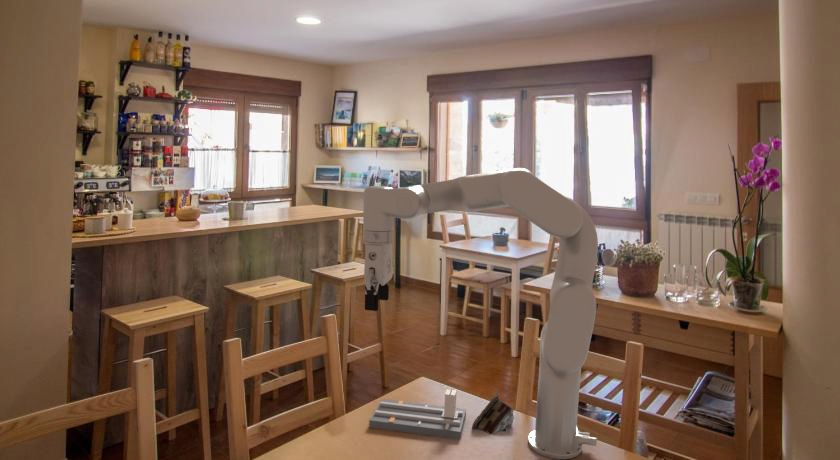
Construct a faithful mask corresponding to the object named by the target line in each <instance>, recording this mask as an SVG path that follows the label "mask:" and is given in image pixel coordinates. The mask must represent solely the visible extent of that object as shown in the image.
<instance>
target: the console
mask: <svg viewBox="0 0 840 460" xmlns="http://www.w3.org/2000/svg"><path fill="white" fill-rule="evenodd" d="M444 407H445V406H443V405H434V404H433V405H432V404H425V403H417V402H416V403H415V402H410V401H409V402H408V401H403V400H391V399H384V398H382V399H381V400H380V402H379V403H378V405H377V407H376V408H375V410H374V412H373V413H372V415H371V416H370V418H369V422H368V423H369V427H368V428H370V429H376V430H377V429H379V430H385V431H391V432H400V433H406V434H415V435H423V436H428V437H429V436H430V437H431V436H432V437H439V438H443V439H444V438H445V439H446V438H447V439H454V440H458V441H459V440H461V439H462V438H461V437H462V434H463V429H464V424H465V422H466V417H467V409H465V408H460V407H459V408H457V407H456V413H458V418H457V420H451V419H443V418H441V415H442V413H443V411H444Z"/></svg>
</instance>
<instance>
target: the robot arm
mask: <svg viewBox="0 0 840 460" xmlns="http://www.w3.org/2000/svg"><path fill="white" fill-rule="evenodd" d="M499 208H500V209H503V208H511V210H513V211H514V212H516V213H517V214H519V215H520V216H522V217H523V218H525V219H526V220H527V221H528V222H531V223H532V224H533V225H535V226H537V227H538V228H539V229H540V230H542V231H544V232H545V233H546V234H548V235H550V236H551V237H554V238H556V239H558V252H557V260H556V266H555V269H554V270H555V271H554V276H553V280H552V284H551V288H550V292H549V301H550V304H549V305H550V307H549V312H548V318H547V321H546V322H545V324H544V325H543V326H542V329H541V331H540V338H539V339H540V340H539V366H538V367H539V368H538V382H537V383H538V384H537V395H536V397H537V398H536V409H535V410H536V412H535V413H536V414H535V428H534V430H532V431H530V433H529V434H528V437H527V443H528V445H529V447H530V448H531V449H532V450H533V451H535V453H538V455H541V456H544V457H546V458H551V459H555V460H569V459H573V458H575V457H576V458H577V457H578V456H579V455H580V454H581V453H582V449H583V445H587V446H591V447H596V446H597V443H598V442H597V437H594V436H591V432H587V431H586V432H585V431H584V432H583V431H580V430H579V429H578V425H577V424H578V413H579V397H580V387H581V373H582V367H583V365H584V364H585V363H586V360H587V357H588V356H589V355H588V354H589V350H590V346H591V341H592V340H591V339H592V335H593V332H594V326H595V320H596V314H597V299H596V296H595V293H594V291H593V282H594V277H595V271H596V265H597V264H596V263H597V259H598V257H597V256H598V250H599V249H598V248H599V241H598V234H597V233H598V232H597V228H596V226H595V223H594V221H593V219H592V218H591V216H590V214H589V212H587V210H585V209H584V207H582V206H581V205H580V204H579V203H578V202H577V201H575V200H574V199H572V198H571V197H569V196H565V195H563V194H562V193H561V192H558V191H557V190H556V189H554V188H552V187H551V186H549V185H548V184H546V183H545V182H544V181H543V180H541V179H540V178H538V177H537V176H536V175H535V174H534V173H533V172H532V171H531V170H529V169H527V168H523V167H516V168H509V169H502V170H498V171H497V170H496V171H490V172H489V171H488V172H482V173H475V174H469V175H468V174H467V175H464V176H460V177H456V178H453V179H448V180H441V181H434V182H429V183H422V184H415V185H409V186H405V187H399V188H393V187H391V186H387V185H370V186H366V187H365V189H364V190H363V211H362V213H363V218H362V219H363V220H362V221H363V223H362V224H363V225H362V243H363V244H365V251H364V253H365V255H364V269H363V271H364V272H363V273H364V274H363V275H364V277H363V278H364V279H363V280H364V283H365V286H364V289H365V290H364V310H365V311H372V312H377V311H379V301H389V299H390V297H389V296H390V295H389V294H390V293H389V292H390V291H389V290H390V285H389V284H390V280H391V279H392V278H393V275H394V273H393V269H394V267H393V266H394V265H393V264H394V263H393V244H394V243H395V242H394V241H395V238H394V237H395V219H396V218H397V219H401V220H413V219H415V218H417V217H418V216H420V215H426V214H432V213H433V214H434V213H438V212H448V211H459V212H463V213H473V212H480V211H487V210H493V209H499Z"/></svg>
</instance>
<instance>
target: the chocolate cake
mask: <svg viewBox="0 0 840 460" xmlns="http://www.w3.org/2000/svg"><path fill="white" fill-rule="evenodd" d="M514 411H515V410H514V408H512V407H511V406H510V405H508V404H507V403H505V402H503V401H502V400H500V397H499V391H497V393H496V394H495V395H494V396H493V398H491V399H490V401H489V402H488V403H487V405H486V406H485V407H484V409H483V410H482V411H481V412H480V414H479V415H478V416H477V417H476V418H475V419H474V420H473V422H472V426H471V429H472V430H473V429H478V428H479V429H481V430H483V431H484V432H487V433H488V434H489V435H495V434H496V433H497V432H499V431H503V432H506V431H507V428H506V426H512V425H513V423H514V419H515V416H514Z"/></svg>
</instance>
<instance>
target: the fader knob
mask: <svg viewBox="0 0 840 460" xmlns="http://www.w3.org/2000/svg"><path fill="white" fill-rule="evenodd" d="M443 407H444V411H443V413H442V415H441V418H443V419H451V420H457V418H458V413H456V408H457V390H456V389H449V388H447V389H446V390H445V393H444V406H443Z"/></svg>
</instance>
